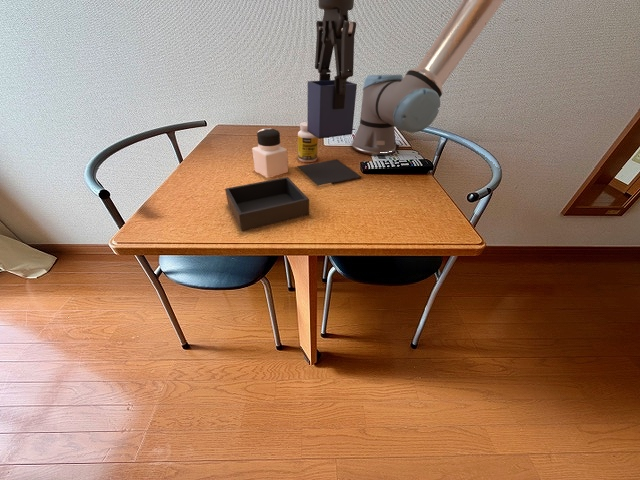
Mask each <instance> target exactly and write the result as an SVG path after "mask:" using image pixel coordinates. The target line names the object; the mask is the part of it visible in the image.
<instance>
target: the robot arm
mask: <svg viewBox="0 0 640 480" xmlns="http://www.w3.org/2000/svg"><path fill="white" fill-rule="evenodd" d="M504 1H505V0H462V1H461V3H460V4H459V6H458V7H457V9H456V10H455V12H454V13H453V15H452V16H451V17H450V19H449V20H448V22H447V23H446V25H445V26H444V28H443V29H442V31H441V32H440V33H439V35H438V36H437V38H436V39H435V40H434V42H433V44H432V45H431V46H430V48H429V49H428V51H426V54H425V55H424V57H423V58H422V59H421V61H420V62H419V64H418V65H417V67H414V68H410V69H409V70H407V72H406V73H405V75H404V76H403V75H402V74H369V75H367V76H366V77H365V79H364V82H363V87H362V99H361V108H360V117H359V125H358V128H357V130H356V133H355V136H354V138H353V139H352V144H351V147H352V149H353V150H354V151H356V152H357V153H360V154H363V155H366V156H376V157H380V156H381V157H383V156H389V155H392V154H394V153H395V152H396V148H399V147H400V144H398V143H397V141H396V133H395V128H397V130H400V131H403V132H406V133H411V134H412V133H418V132H422V131H423V130H426V128H428V127H430V125H431V124H433V122H434V121H435V120H436V118H437V116H438V114H439V113H440V110H439V109H440V107H441V97H442V95H443V94H444V93H443V85H444V84H445V82H446V81H447V80H448V79H449V77H450V76H451V75H452V73H453V71H454V70H455V69H456V67H457V66H458V64H459V63H460V62H461V60H462V59H463V58H464V57H465V55H466V54H467V52H468V51H469V49H470V48H471V47H472V45H473V44H474V42H475V41H476V40H477V38H478V37H479V36H480V34H481V33H482V32H483V30H484V29H485V27H486V26H487V25H488V24H489V22H490V20H491V19H492V18H493V17H494V15H495V13H496V12H497V11H498V9H499V8H500V6H501V5H502V4H503V2H504ZM317 3H318V4H317V6H318V9H320V10H323V15H322V20H317V21H316V24H315V25H316V39H315V40H316V41H315V57H314V69H315V70H317V73H318V74H319V77H318V78H319V80H318V81H323V80H331V73H332V71H331V69H330V67H331V62H332V58H333V51H334V60H335V72H336V75H335V76H334V77H333V78H334V80H335V82H334V102H333V109H344V103H345V93H346V81H348V79H349V78H352V77H353V76H354V66H355V65H354V61H355V35H356V29H357V22H356V21H351V20H350V19H349V11H352V10H353V9H354V5H355V0H318V2H317ZM389 151H392V152H389ZM380 152H389V153H380Z"/></svg>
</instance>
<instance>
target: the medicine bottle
mask: <svg viewBox="0 0 640 480" xmlns="http://www.w3.org/2000/svg"><path fill="white" fill-rule="evenodd" d="M256 137H257V146H254V147H252V148H251V151H252V158H253V166H254V172H255V173H257V174H260V175H262V176H263V177H264V178H266V179H270V178H273V177H277V176H279V175H282V174H286V173H289V161H288V159H289V157H288V149H287V148H285V147H283V146H281V132H280V131H279V130H277V129H275V128H271V127H270V128H262V129H260V130H258V131H257V132H256Z"/></svg>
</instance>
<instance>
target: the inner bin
mask: <svg viewBox="0 0 640 480" xmlns="http://www.w3.org/2000/svg"><path fill="white" fill-rule="evenodd" d="M334 82H335V79H330V80H323V81H319V80H309V81H308V80H307V121H306V122H307V131H308V132H310V133H311V134H313V135H314V136H316V137H317V138H318V139H320V140H321V139H328V138H335V137H343V136H349V135H350V136H351V135H353V131H354V130H353V129H354V119H355V108H356V100H357V99H356V98H357V97H356V96H357V87H358V84H357V83H355V82H352V81H349V80H347V81H346V93H345V103H344V109H333V102H334Z"/></svg>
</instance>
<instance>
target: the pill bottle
mask: <svg viewBox="0 0 640 480" xmlns="http://www.w3.org/2000/svg"><path fill="white" fill-rule="evenodd" d="M299 129H300V130H299V131H298V132H297V159H298V160H299V161H300V162H303V163H315V162H316V161H317V159H318V145H319V144H318V142H319V140H318V139H319V138H317V137H316V136H314V135H313V134H311V133H310V132H308V131H307V121H301V122H300V123H299Z"/></svg>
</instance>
